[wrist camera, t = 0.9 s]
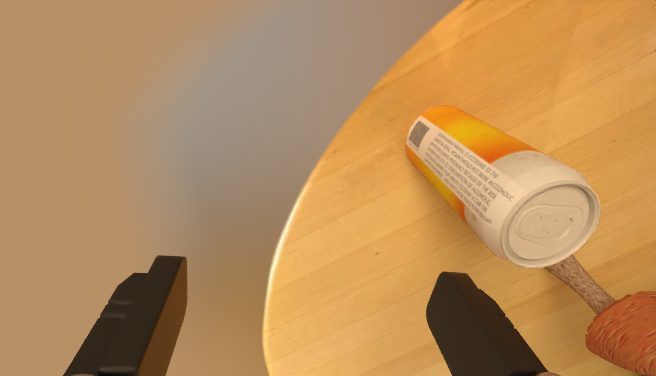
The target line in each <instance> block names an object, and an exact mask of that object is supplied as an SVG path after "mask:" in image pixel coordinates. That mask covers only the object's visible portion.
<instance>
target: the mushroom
mask: <svg viewBox="0 0 656 376" xmlns="http://www.w3.org/2000/svg"><path fill="white" fill-rule="evenodd" d="M546 269H548V270H549V271H550V272H551V273H553V274H554V275H555V276H556V277H558V278H559V279H560V280H561V281H563V282H564V283H565V284H567V285H568V286H569V287H570V288H572V289H573V290H574V291H575V292H577V293H578V294H579V295H580V296H581V297H582V299H583V300H584V301H585V302H586V303H587V304H588V305H589V306H590V307H591V308H592V309H593V311H594V312H595V313H596V314H597V315H598V316H596V317H595V318H594V320H593V323H592V324H591V325H590V326H589V327H588V331H587V334H586V346H587V348H588V349H589V350H590V351H591V352H593V353H594V354H596V355H598V356H600V357H601V358H603V359H605V360H607V361H609V362H611V363H613V364H615V365H617V366H619V367H622V368H624V369H627V370H630V371H633V372H636V373H640V374H644V375H648V376H656V292H654V291H651V292H638V293H636V294H634V295H627V296H625V297H624V298H622V299H621V300H616V301H615V300H614V299H613V298H612V297H611V296H610V295H609V294H608V293H606V292H605V291H604V290H603V289H602V288H601V287H600V286H599V285H597V284H596V283H595V282H594V280H593V279H592V278H591V277H590V275H589V274H588V273H587V272H586V270H585V269H584V268H583V267H582V266H581V264H580V263H579V262H578V261H577V259H576V258H575V257H574V256H573V254H572V255H571V256H569V257H568V258H566V259H564V260H562V261H560V262H558V263H556V264H553V265H550V266H546Z"/></svg>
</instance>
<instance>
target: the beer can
mask: <svg viewBox="0 0 656 376" xmlns="http://www.w3.org/2000/svg"><path fill="white" fill-rule="evenodd" d="M406 151H407V155H408V157H409V159H410V161H411V162H412V163H413V164H414V165H415V167H416V168H417V169H418V170H419V171H420V172H421V173H422V174H423V176H424V177H425V178H426V179H427V180H428V181H429V182H430V183H431V184H432V186H433V187H434V188H435V189H436V190H437V191H438V192H439V193H440V195H441V196H442V197H443V198H444V199H445V200H446V201H447V202H448V203H449V205H450V206H451V207H452V208H453V209H454V210H455V211H456V212H457V214H458V215H459V216H460V217H461V218H462V219H463V220H464V221H465V223H466V224H467V225H468V226H469V227H470V228H471V229H472V230H473V231H474V233H475V234H476V235H477V236H478V237H479V238H480V239H481V240H482V242H483V243H484V244H485V245H486V246H487V247H488V248H489V249H490V250H491V251H492V252H493V253H494V254H495V255H497V256H498V257H500V258H502V259H505V260H509V261H511V262H513V263H514V264H516V265H518V266H521V267H525V268H542V267H546V266H550V265H553V264H556V263H558V262H560V261H562V260H564V259H566V258H568V257H569V256H571V255H572V254H574V253H575V252H576V251H577V250H579V249H580V248H581V247H582V246H583V245H584V244H585V243H586V242H587V241H588V239H589V238H590V237H591V235H592V234H593V232H594V230H595V229H596V227H597V224H598V222H599V218H600V213H601V205H600V201H599V198H598V196H597V194H596V193H595V192H594V190H592V189H591V188H590V186H589V184H588V182H587V180H586V179H585V177H584V176H583V175H582V174H581V173H580V172H578V171H577V170H575V169H573V168H571V167H569V166H567V165H565V164H563V163H561V162H560V161H558V160H556V159H554V158H552V157H550V156H548V155H546V154H544V153H542V152H540V151H538V150H536V149H535V148H533V147H531V146H529V145H527V144H525V143H523V142H521V141H519V140H517V139H515V138H513V137H512V136H510V135H508V134H506V133H504V132H502V131H500V130H498V129H496V128H494V127H492V126H490V125H488V124H487V123H485V122H483V121H481V120H479V119H477V118H475V117H473V116H471V115H469V114H467V113H465V112H464V111H462V110H460V109H458V108H455V107H452V106H439V107H435V108H432V109H430V110H428V111H426V112H425V113H423V114H422V115H421V116H419V117H418V118H417V119H416V121H415V122H414V123H413V124H412V126H411V128H410V130H409V132H408V135H407V139H406Z"/></svg>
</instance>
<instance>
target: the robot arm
mask: <svg viewBox="0 0 656 376" xmlns="http://www.w3.org/2000/svg"><path fill="white" fill-rule="evenodd" d="M186 306H187V259H186V257H179V256H160V255H158V256H157V257H156V258H155V261H154V262H153V264H152V266H151V268H150V270H149V272H148V273H133V274H132V275H131V276H130V277H128V278H127V279H126V280H125V281H123V282H122V283H121V284H120V285H118V287H117V288H116V290H115V292H114V293H113V295H112V297H111V298H110V300H109V301H108V305H106V306H105V308H104V310H103V311H102V313H101V315H100V318H98V320H97V321H96V323H95V325H94V326H93V328H92V330H91V331H90V333H89V334H88V336H87V338H86V339H85V341H84V343H83V344H82V346H81V348H80V349H79V351H78V353H77V354H76V356H75V357H74V359H73V361H72V363H71V364H70V366H69V367H68V369H67V371H66V372H65V373H64V375H63V376H165V375H166V372H167V369H168V366H169V363H170V360H171V357H172V354H173V351H174V348H175V345H176V341H177V338H178V335H179V332H180V329H181V326H182V323H183V320H184V316H185V312H186ZM426 318H427V323H428V325H429V328H430V330H431V332H432V334H433V336H434V338H435V340H436V342H437V345H438V347H439V349H440V351H441V353H442V355H443V357H444V359H445V361H446V363H447V366H448V368H449V370H450V372H451V374H452V376H560V375H558V374H555V373H550V372H548V371H547V369H546V368H545V367H544V365H543V364H542V363H541V361H540V360H539V359H538V357H537V356H536V355H535V353H534V352H533V351H532V349H531V348H530V347H529V345H528V344H527V343H526V341H525V340H524V339H523V337H522V336H521V335H520V333H519V332H518V331H517V329H514V325H513V324H512V323H511V321H510V320H509V319H508V317H505V314H504V312H503V311H502V310H501V308H500V307H499V306H498V304H497V303H496V302H495V301H494V300H493V299H492V298H491V297H490V296H488V295H487V294H486V293H485V292H484V291H482V290H481V289H478V288H477V286H476V285H475V284H474V282H473V281H472V279H471V278H470V277H469V276H468V275H467V274H466V273H458V272H442V273H440V275H439V277H438V279H437V282H436V284H435V287H434V289H433V292H432V294H431V297H430V300H429V302H428V305H427V309H426Z"/></svg>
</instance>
